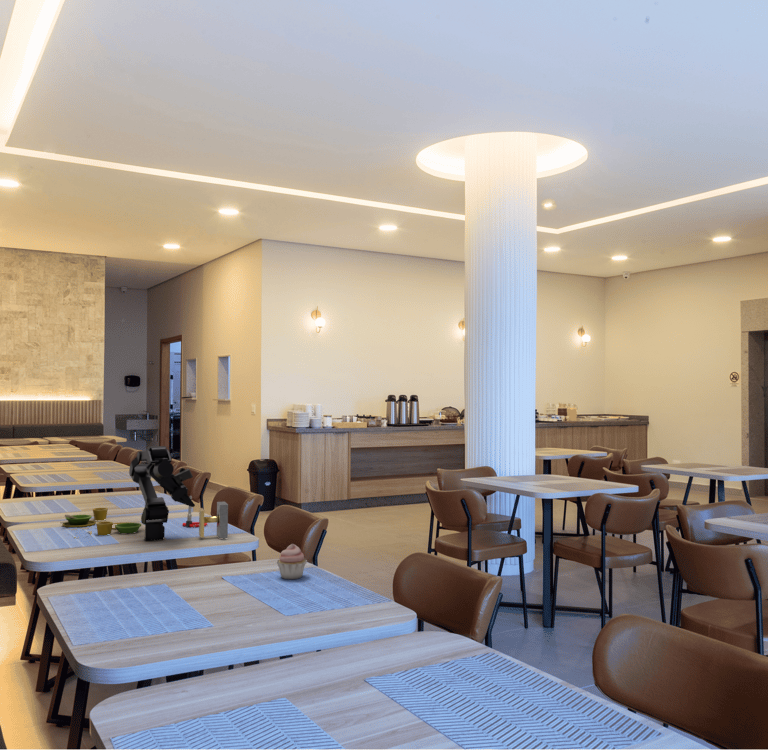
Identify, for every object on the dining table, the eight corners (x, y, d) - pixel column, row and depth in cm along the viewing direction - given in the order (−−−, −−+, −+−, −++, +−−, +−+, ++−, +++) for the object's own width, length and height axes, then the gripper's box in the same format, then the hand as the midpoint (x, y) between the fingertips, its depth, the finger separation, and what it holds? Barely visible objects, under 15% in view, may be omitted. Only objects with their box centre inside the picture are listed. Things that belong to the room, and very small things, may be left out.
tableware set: (58, 523, 301) (58, 508, 301) (126, 518, 315) (126, 504, 315) (71, 541, 266) (71, 524, 266) (147, 534, 280) (147, 518, 280)
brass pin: (200, 537, 266) (201, 510, 267) (198, 534, 272) (199, 508, 272) (227, 535, 270) (228, 509, 270) (225, 532, 275) (225, 507, 276)
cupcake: (278, 582, 208) (278, 547, 208) (274, 574, 217) (274, 541, 217) (309, 580, 210) (310, 546, 210) (304, 572, 219) (305, 539, 219)
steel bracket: (219, 539, 268) (220, 504, 268) (216, 535, 275) (217, 501, 276) (227, 539, 269) (228, 504, 269) (224, 535, 276) (224, 501, 277)
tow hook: (197, 524, 302) (180, 526, 294) (199, 493, 303) (182, 495, 295) (211, 526, 297) (194, 528, 290) (213, 495, 298) (196, 496, 290)
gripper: (182, 464, 258) (212, 493, 262) (177, 459, 276) (206, 487, 279) (158, 486, 255) (190, 515, 259) (156, 480, 273) (185, 508, 276)
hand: (193, 505), depth 268 cm, fingers open, 3 cm apart
